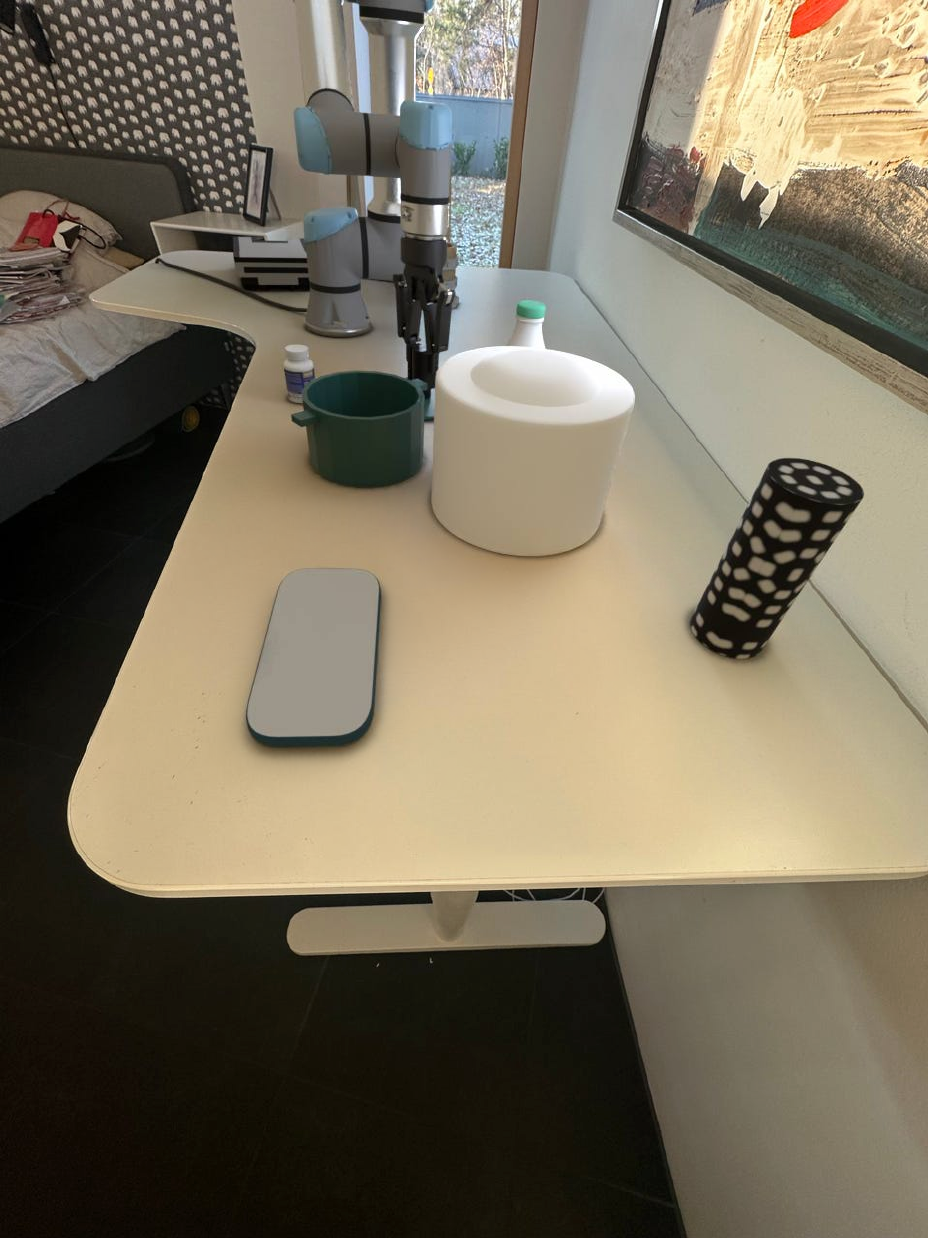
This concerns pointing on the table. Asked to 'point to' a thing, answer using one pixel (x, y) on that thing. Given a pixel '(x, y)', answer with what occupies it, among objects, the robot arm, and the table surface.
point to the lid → (418, 374)
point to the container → (526, 447)
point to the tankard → (451, 270)
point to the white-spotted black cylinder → (773, 554)
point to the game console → (271, 263)
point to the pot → (364, 427)
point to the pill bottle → (297, 371)
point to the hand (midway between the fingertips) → (421, 384)
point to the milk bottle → (528, 325)
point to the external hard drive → (318, 660)
